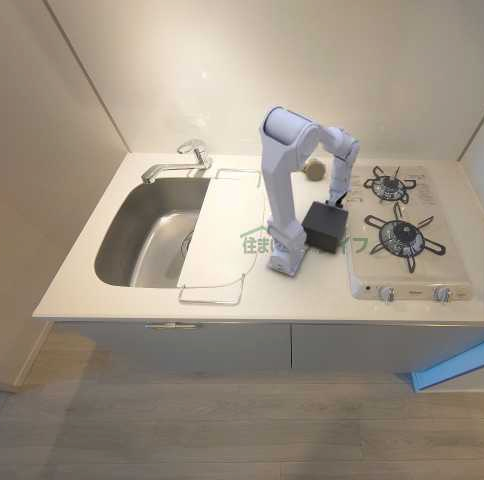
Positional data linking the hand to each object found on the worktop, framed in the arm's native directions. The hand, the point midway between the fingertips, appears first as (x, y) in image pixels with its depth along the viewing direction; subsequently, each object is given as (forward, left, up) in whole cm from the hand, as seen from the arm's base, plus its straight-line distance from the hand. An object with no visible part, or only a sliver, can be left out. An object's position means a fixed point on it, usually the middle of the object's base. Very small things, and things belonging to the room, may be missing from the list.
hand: (336, 205), depth 88 cm
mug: (+16, +15, -4) cm, 22 cm away
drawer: (-7, +1, -3) cm, 8 cm away
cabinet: (-11, +1, -4) cm, 11 cm away
